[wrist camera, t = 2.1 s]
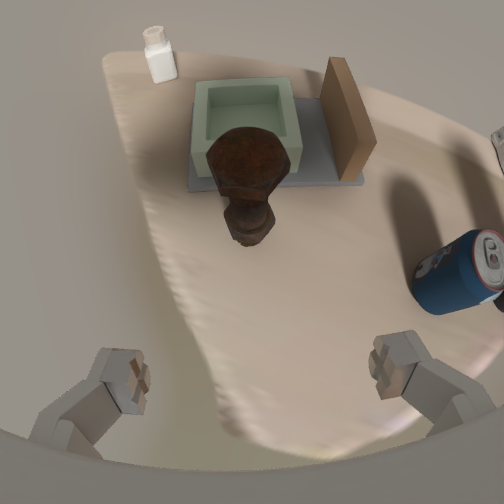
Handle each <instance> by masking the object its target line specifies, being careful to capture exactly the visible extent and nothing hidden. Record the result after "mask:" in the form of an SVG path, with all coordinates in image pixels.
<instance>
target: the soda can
mask: <svg viewBox="0 0 504 504" xmlns="http://www.w3.org/2000/svg"><path fill="white" fill-rule="evenodd" d="M503 290H504V238H503V237H502V235H501V234H499V233H498V232H497V231H495V230H492V229H484V230H479V229H474V230H471V231H469V232H467V233H465V234H464V235H462V236H461V237H459V238H458V239H456V240H455V241H453V242H451V243H450V244H448V245H447V246H445V247H443V248H442V249H440V250H438V251H437V252H435V253H434V254H432V255H430V256H429V257H427V258H425V259H424V260H422V261H421V262H420V263H419V265H418V266H417V268H416V270H415V273H414V276H413V292H414V296H415V298H416V300H417V302H418V303H419V305H420V306H421V307H422V308H423V309H424V310H425V311H427V312H429V313H431V314H434V315H443V314H447V313H450V312H454V311H458V310H462V309H465V308H469V307H472V306H476V305H479V304H483V303H486V302H490V301H493V300H495V299H496V298H497V297H498V296H499V295H500V294H501V293H502V291H503Z"/></svg>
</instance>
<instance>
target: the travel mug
mask: <svg viewBox="0 0 504 504" xmlns="http://www.w3.org/2000/svg"><path fill="white" fill-rule="evenodd" d="M493 301H494V303H495V305H496V307H497V308H498V309H499V310H500V311H501V312H504V290H503V291H502V293H501V294H500V295H499V296H498V297H497V298H496V299H495V300H493Z"/></svg>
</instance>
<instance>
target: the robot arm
mask: <svg viewBox="0 0 504 504" xmlns="http://www.w3.org/2000/svg"><path fill="white" fill-rule="evenodd" d="M491 140H492V142H493V144H494V146H495V148H496V150H497V153H498V157H499V161H500V164H501V167H502V169H503V172H504V127H502V128H501V129H499V130H497V131H496V132H495V133H493V134H492V135H491ZM373 345H374V347H375V349H374V350H373V351H372V352H371V353H370V356H369V370H370V374H371V376H372V378H374V379H375V380H377V384H376V389H377V391H378V394H379V396H380V398H381V400H384V399H389V398H394V397H399V396H402V398H403V399H404V400H406V401H407V402H408V403H409V404H410V405H412V406H413V407H414V408H415V409H416V410H418V411H419V412H420V413H421V414H422V415H424V416H425V417H426V418H427V419H429V420H430V421H431V422H432V423H433V424H434V425H433V426H432V428H431V429H430V430H429V432H428V433H427V435H426V438H423V439H420V440H417V441H414V442H411V443H408V444H404V445H401V446H397V447H394V448H390V449H387V450H383V451H379V452H375V453H371V454H367V455H362V456H357V457H353V458H348V459H342V460H337V461H331V462H325V463H319V464H312V465H305V466H297V467H287V468H276V469H263V470H242V471H205V470H204V471H203V470H183V469H182V470H181V469H169V468H158V467H149V466H141V465H134V464H127V463H120V462H115V461H109V460H104V459H103V458H102V456H101V454H100V453H99V452H98V451H97V450H96V449H95V448H94V447H93V446H94V444H95V443H96V442H97V441H98V440H99V439H100V438H101V437H102V436H103V435H104V433H106V431H107V430H108V429H109V428H110V427H111V426H112V425H113V424H114V423H115V422H116V420H117V419H118V418H119V417H120V416H121V415H122V414H133V415H143V414H144V410H145V406H146V401H147V400H146V398H145V396H144V395H145V394H146V393H147V392H148V391H149V388H150V372H149V369H148V366H147V365H146V364H144V363H143V361H144V356H143V353H142V351H141V350H132V349H118V348H101V349H100V350H99V352H98V354H97V356H96V358H95V361H94V363H93V365H92V368H91V370H90V373H89V375H88V378H87V380H82V381H81V382H79V383H78V384H77V385H75V386H74V387H73V388H71V389H70V390H69V391H67V392H66V393H65V394H63V395H62V396H61V397H59V398H58V399H57V400H55V401H54V402H53V403H51V404H50V405H49V406H47V407H46V408H45V409H43V410H42V411H41V412H40V413H39V415H38V417H37V420H36V422H35V424H34V427H33V429H32V431H31V434H30V436H29V439H26V438H23V437H20V436H18V435H15V434H12V433H10V432H7V431H4V430H2V429H0V504H504V405H502V406H500V407H498V408H496V407H495V405H494V403H493V402H492V400H491V398H490V396H489V395H488V393H487V392H486V390H485V388H484V387H483V385H482V384H480V383H479V382H477V381H475V380H473V379H471V378H470V377H468V376H466V375H464V374H463V373H461V372H459V371H457V370H456V369H454V368H452V367H450V366H449V365H447V364H445V363H443V362H442V361H440V360H438V359H433V358H432V357H431V355H430V353H429V352H428V350H427V349H426V347H425V345H424V344H423V342H422V341H421V339H420V337H419V336H418V334H417V333H416V331H414V330H409V331H403V332H398V333H392V334H386V335H380V336H376V338H375V339H374V342H373Z"/></svg>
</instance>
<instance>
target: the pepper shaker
mask: <svg viewBox="0 0 504 504" xmlns="http://www.w3.org/2000/svg"><path fill="white" fill-rule="evenodd" d="M142 35H143V39H144V42H145V44H146V47H145V57H146V60H147V63H148V66H149V70H150V73H151V76H152V79H153V82H155V84H159V83H162V82H165V81H169V80H172V79H175V78H177V75H178V73H177V69H176V65H175V61H174V57H173V52H172V48H171V44H170V41H169V40H166V34H165V30H164V28H163V27H162V26H153V27H150V28H148V29H146V30H145V31H144V32H143V34H142Z"/></svg>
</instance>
